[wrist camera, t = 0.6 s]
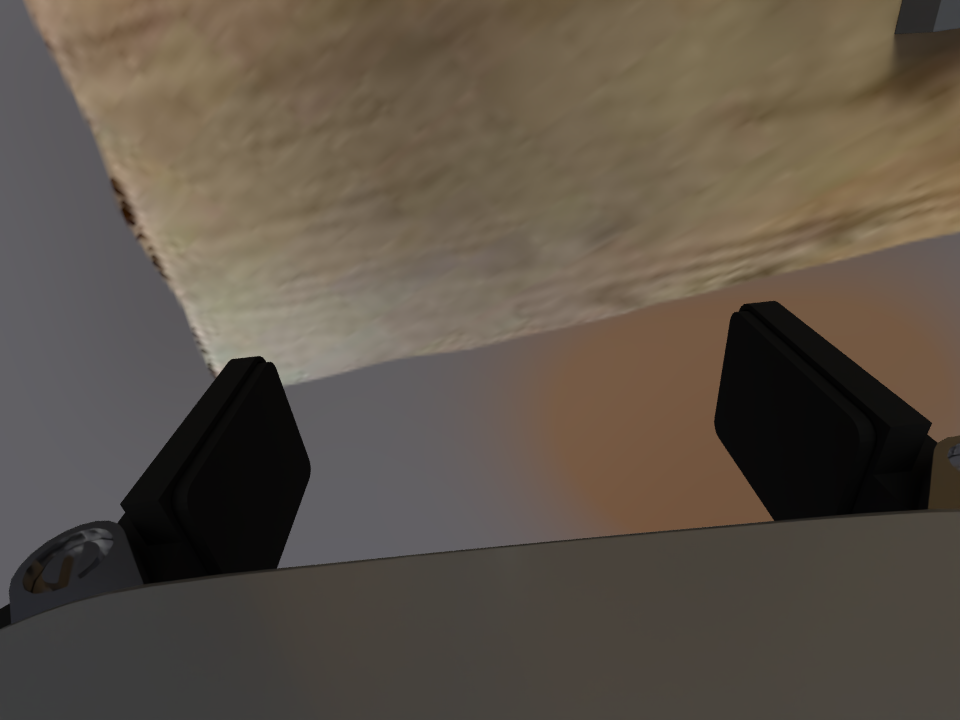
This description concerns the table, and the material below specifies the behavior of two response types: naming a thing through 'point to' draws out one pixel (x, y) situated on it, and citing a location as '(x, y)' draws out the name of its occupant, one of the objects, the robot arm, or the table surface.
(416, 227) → the table surface
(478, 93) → the table surface
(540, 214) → the table surface
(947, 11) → the housing
